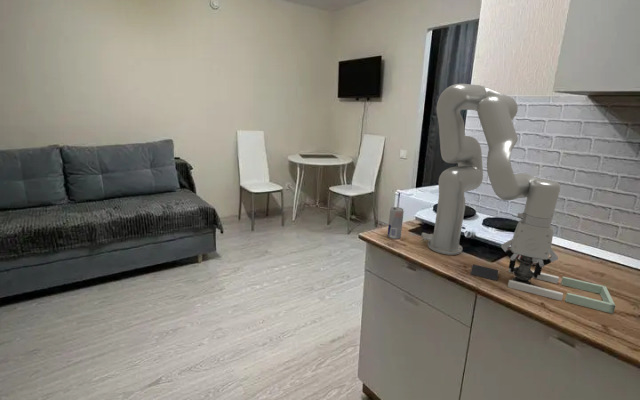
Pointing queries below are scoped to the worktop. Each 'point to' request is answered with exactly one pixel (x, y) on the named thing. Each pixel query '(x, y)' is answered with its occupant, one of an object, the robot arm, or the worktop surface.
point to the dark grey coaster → (484, 272)
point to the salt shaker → (524, 271)
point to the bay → (604, 305)
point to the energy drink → (395, 222)
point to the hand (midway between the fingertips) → (523, 272)
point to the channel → (536, 289)
